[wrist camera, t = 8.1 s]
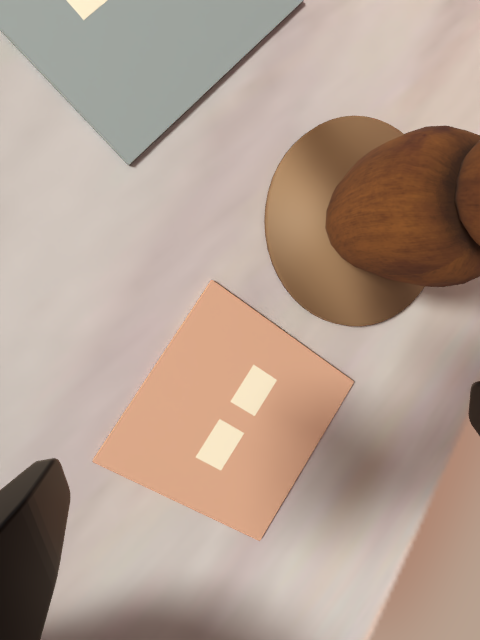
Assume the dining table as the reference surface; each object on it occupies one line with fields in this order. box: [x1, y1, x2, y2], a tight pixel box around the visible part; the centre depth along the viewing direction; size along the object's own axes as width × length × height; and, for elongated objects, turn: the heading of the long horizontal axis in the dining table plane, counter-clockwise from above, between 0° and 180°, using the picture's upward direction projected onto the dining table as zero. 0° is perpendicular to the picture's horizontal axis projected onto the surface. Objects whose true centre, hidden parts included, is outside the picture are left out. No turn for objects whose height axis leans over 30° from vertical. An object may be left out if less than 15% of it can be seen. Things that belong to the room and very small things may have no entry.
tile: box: [93, 280, 354, 541], centre depth 21 cm, size 10×10×1 cm
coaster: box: [265, 116, 425, 326], centre depth 22 cm, size 11×11×1 cm
